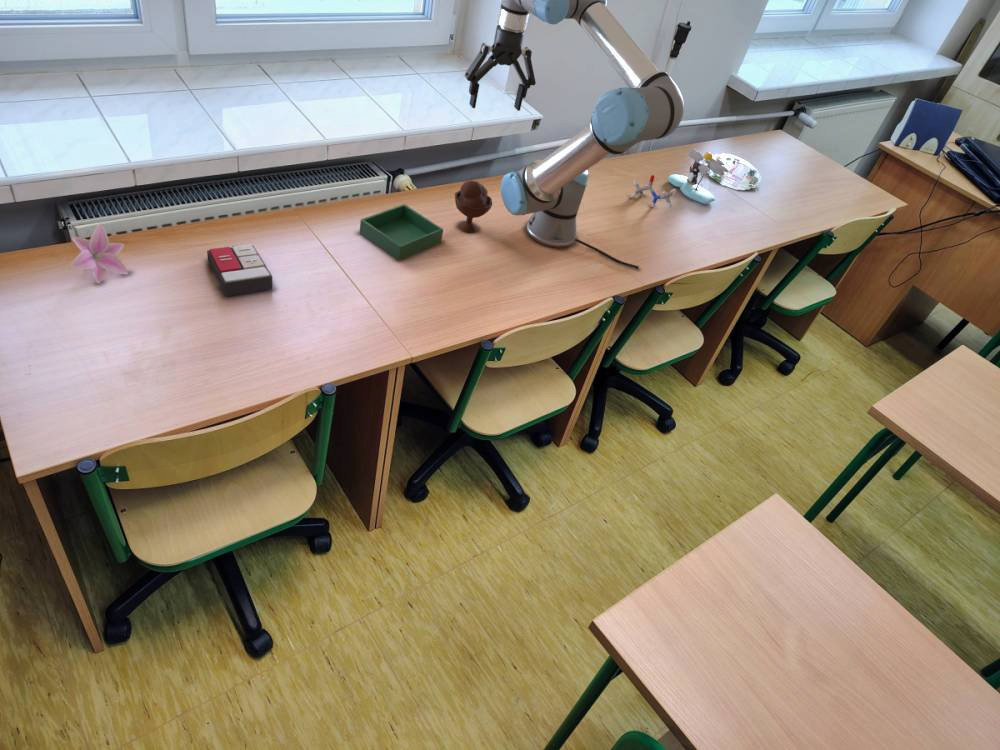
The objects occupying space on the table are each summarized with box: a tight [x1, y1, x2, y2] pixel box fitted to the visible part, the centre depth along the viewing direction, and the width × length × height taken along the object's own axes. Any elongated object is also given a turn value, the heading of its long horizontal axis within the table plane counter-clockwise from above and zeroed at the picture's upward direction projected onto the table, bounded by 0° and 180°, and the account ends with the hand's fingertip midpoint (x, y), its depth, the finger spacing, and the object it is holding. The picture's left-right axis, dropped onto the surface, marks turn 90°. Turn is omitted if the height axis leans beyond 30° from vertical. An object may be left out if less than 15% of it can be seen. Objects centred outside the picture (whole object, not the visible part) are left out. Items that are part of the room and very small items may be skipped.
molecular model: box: [630, 174, 677, 209], centre depth 240 cm, size 18×8×10 cm, turn 42°
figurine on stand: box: [667, 148, 728, 205], centre depth 252 cm, size 20×11×15 cm, turn 30°
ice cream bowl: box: [454, 179, 493, 234], centre depth 202 cm, size 11×11×15 cm
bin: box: [359, 203, 444, 261], centre depth 194 cm, size 15×16×4 cm
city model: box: [703, 152, 763, 191], centre depth 274 cm, size 25×23×6 cm
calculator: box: [206, 243, 273, 297], centre depth 168 cm, size 11×4×15 cm
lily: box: [69, 222, 129, 284], centre depth 158 cm, size 12×12×10 cm
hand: (494, 107), depth 198 cm, fingers open, 13 cm apart
